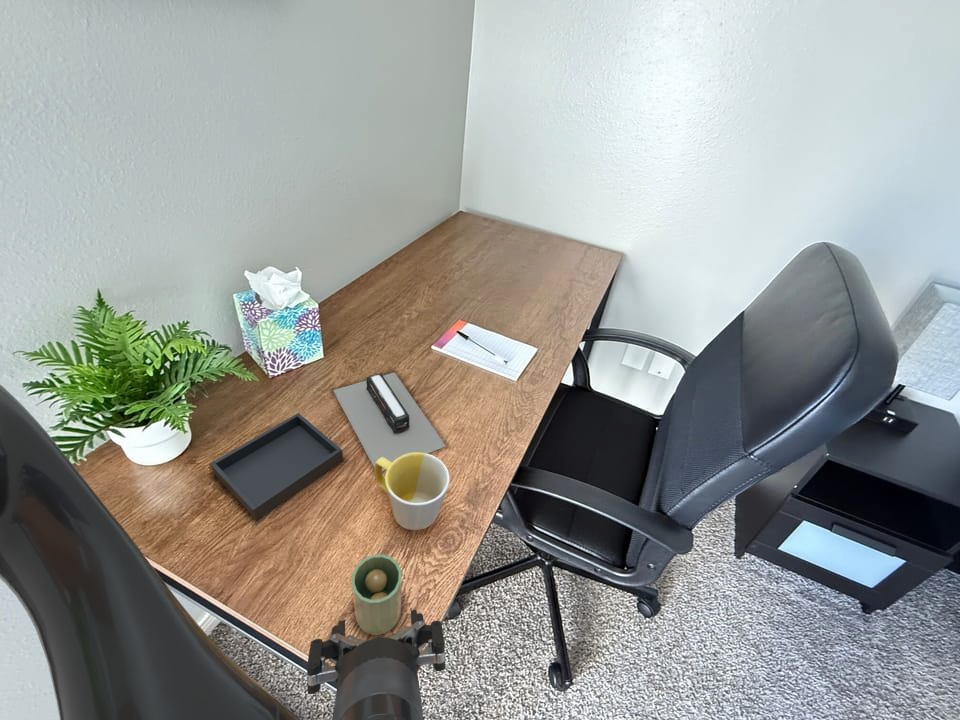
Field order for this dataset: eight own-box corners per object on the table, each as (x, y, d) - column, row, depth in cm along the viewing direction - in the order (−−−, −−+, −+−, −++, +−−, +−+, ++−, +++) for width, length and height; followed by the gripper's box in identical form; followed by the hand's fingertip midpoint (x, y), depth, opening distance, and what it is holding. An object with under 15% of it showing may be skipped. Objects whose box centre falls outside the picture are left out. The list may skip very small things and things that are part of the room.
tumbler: (376, 645, 64) (374, 613, 57) (346, 613, 66) (341, 579, 60) (410, 609, 68) (411, 575, 62) (380, 580, 71) (379, 545, 64)
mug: (457, 516, 81) (463, 479, 74) (412, 554, 74) (413, 517, 68) (407, 468, 87) (408, 430, 81) (361, 499, 81) (358, 460, 75)
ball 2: (379, 625, 61) (377, 606, 61) (364, 615, 63) (362, 596, 62) (396, 611, 64) (394, 593, 63) (381, 601, 65) (380, 583, 65)
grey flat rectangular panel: (394, 372, 108) (394, 358, 106) (446, 446, 93) (447, 431, 90) (333, 390, 101) (331, 375, 99) (377, 473, 86) (376, 458, 83)
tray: (256, 521, 76) (252, 510, 74) (213, 474, 82) (209, 463, 80) (343, 460, 87) (342, 449, 85) (300, 423, 93) (298, 412, 91)
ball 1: (374, 583, 62) (370, 563, 64) (363, 597, 62) (359, 577, 65) (393, 584, 63) (388, 564, 66) (382, 597, 64) (378, 578, 66)
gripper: (455, 646, 43) (435, 583, 59) (291, 674, 40) (316, 599, 55) (459, 734, 42) (437, 645, 58) (292, 769, 39) (317, 665, 55)
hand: (378, 623), depth 57 cm, fingers open, 8 cm apart
